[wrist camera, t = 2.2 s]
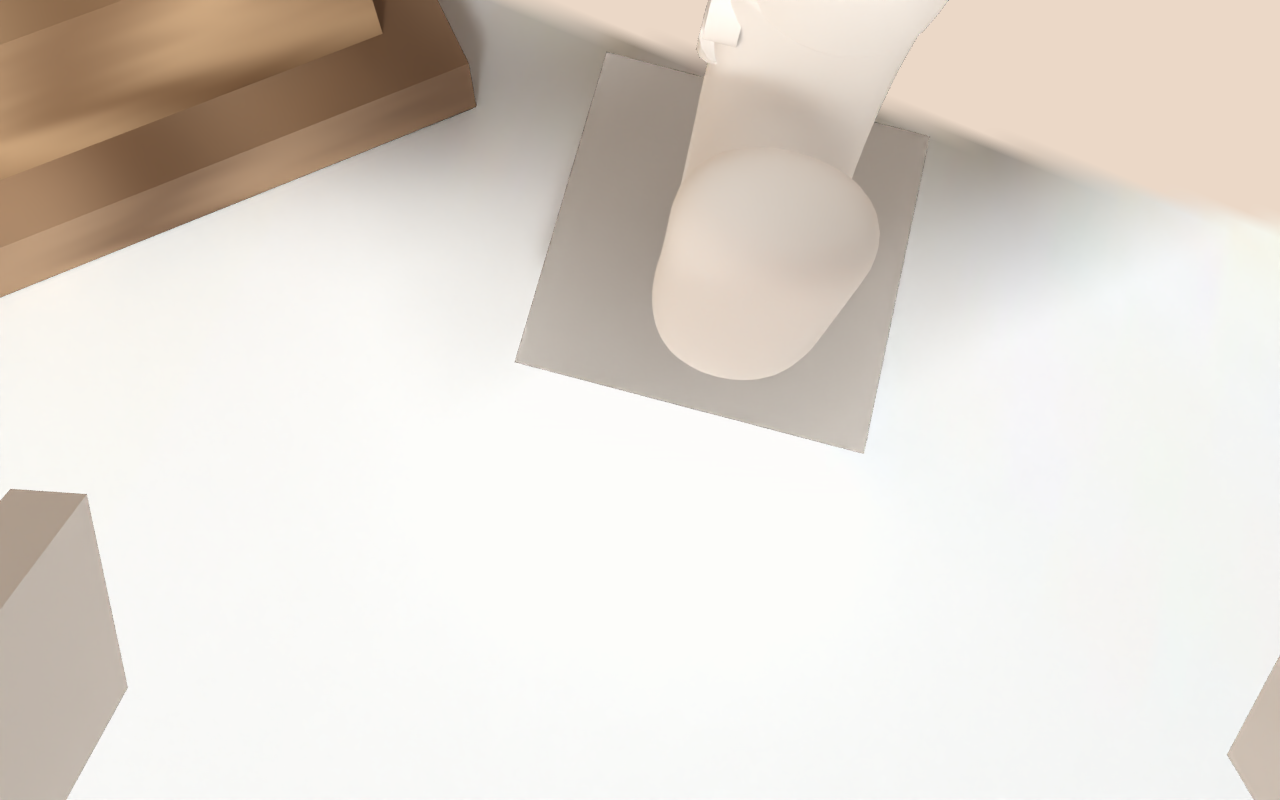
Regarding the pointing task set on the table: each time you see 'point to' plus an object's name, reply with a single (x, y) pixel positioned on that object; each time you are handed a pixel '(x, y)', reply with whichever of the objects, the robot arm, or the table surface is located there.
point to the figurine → (741, 220)
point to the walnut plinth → (196, 109)
